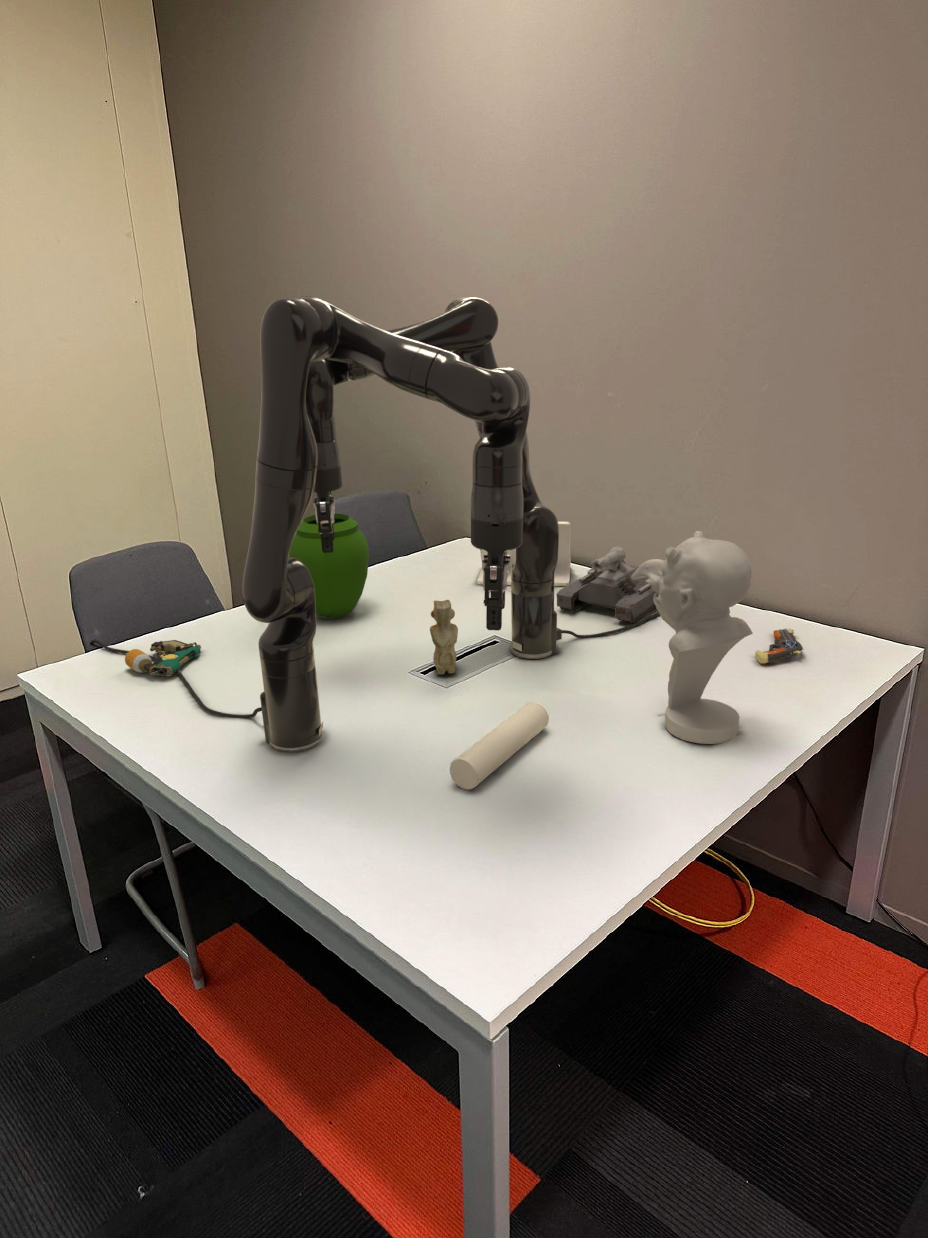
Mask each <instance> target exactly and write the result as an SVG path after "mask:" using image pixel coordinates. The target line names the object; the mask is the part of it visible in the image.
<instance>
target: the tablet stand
mask: <svg viewBox="0 0 928 1238" xmlns="http://www.w3.org/2000/svg"><path fill="white" fill-rule="evenodd" d="M558 525H559V545H558V562H557V566H556V568H555V572H554V587H556V586H557V587H566V586H567V585H569V584H570V580H571V579H570V578H571V565H572V564H571V560H572V558H571V522H569V521H558ZM479 551H480V557H481V558H480V559H481V561H482V560H484V555H488V553H487V551H485V550H483V549H482V550H480V549H479ZM507 555H510V558H511V559H510V567H509V577H507V586H511V566H512V564H513V563H514V562H515V560H516V549H514V550H507ZM476 581H477V582H476V584H478V585H482V586H483V570H482V569H481V570H480V573H479V575H478V577H477V580H476Z"/></svg>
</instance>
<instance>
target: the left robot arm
mask: <svg viewBox="0 0 928 1238" xmlns="http://www.w3.org/2000/svg"><path fill="white" fill-rule="evenodd" d="M259 349H260V352H259V353H260V378H261V379H260V381H261V386H260V387H261V391H260V392H261V393H260V412H259V413H260V414H259V433H258V443H257V444H258V445H257V452H256V465H255V478H254V479H255V480H254V483H255V484H254V499H253V500H254V501H253V507H252V508H253V510H252V519H251V529H250V538H249V543H248V549H247V550H248V551H247V554H246V559H245V565H244V570H243V574H242V575H243V576H242V580H241V581H242V582H241V597H242V601H243V604H244V606H245V609H246V611H247V613H248V615H250V617H252V618H253V620H255V621H257V622H259V623H265V624H267V626H266V628H265V630H264V631H263V632H262V634H261V635H260V636H259V639H258V653H259V661H260V667H261V669H260V671H261V677H262V684H263V685H262V686H263V692H261V693H260V695H259V699H260V706H259V707H257V708H255V709H254V710H253V712H252V713H250V714H249V713H248V714H235V713H234V714H233V713H227V712H222V711H218V710H214V709H212V708H209V707H208V706H206V705H205V704H204V702H203V701H202V699H201V698H200V697H199V695H198V694H197V693H196V692H195V691H194V688H193V687H192V686H191V684H190V683H189V682H188V680H187V679H186V677H185V676H184V675H183V673H181V671H180V670H179V669H178V670H177V671H175V672H174V673H175V674H176V675H177V676H178V677H179V678H180V680H181V681H182V682H183V684H184V685H185V687H186V688H187V690H188V691H189V692H190V694H191V695H192V697H193V698H194V699H195V700H196V702H197V703H198V705H199V706H200V708H201V709H202V710H204V711H205V712H207V713H210V714H212V715H216V716H219V717H223V718H232V719H252V718H255V717H256V716H257V714H258V713H260V712H261V716H262V723H263V731H264V732H263V733H264V739H265V743H267V744H269V745H270V747H271V748H273V749H275V750H276V751H280V752H284V753H285V752H286V753H296V752H302V751H307V750H309V749H312V748H314V747H316V746H317V745H319V744H320V743H321V742H322V741H323V739H324V733H323V732H324V731H323V728H324V721H322V719H321V709H320V696H319V686H318V677H317V669H316V658H315V657H316V656H315V647H314V640H315V637H316V633H317V614H316V601H315V589H314V583H313V579H312V577H311V574H310V572H309V570H308V569H307V567H306V566H305V565H304V564H303V563H302V562H301V561H299V560H298V559H296V558H292V557H289V551H290V547H291V544H292V541H293V538H294V536H295V534H296V533H297V530H298V528H299V526H300V524H301V522H302V521H303V520H304V519H305V516H306V514H307V512H308V510H309V508H310V505H311V502H312V501H313V497H314V493H315V492H314V489H315V481H316V472H317V463H318V450H317V444H316V440H315V437H314V433H313V430H312V427H311V425H310V422H309V418H308V415H307V411H306V386H307V377H308V371H309V366H310V363H312V362H318V361H321V360H331V361H338V362H344V363H349V364H353V365H356V366H359V367H362V368H365V369H367V370H369V371H371V372H372V373H374V374H376V375H375V376H377V377H378V378H380V379H382V380H383V381H384V382H386V383H388V384H389V385H391V386H393V387H395V388H397V389H399V390H402V391H404V392H407V393H409V394H412V395H415V396H417V397H421V398H424V399H427V400H430V401H433V402H436V403H440V404H442V405H444V406H445V407H447V408H449V410H452V411H453V412H456V413H457V414H459V415H461V416H463V417H465V418H467V419H469V420H472V421H473V422H475V421H477V422H481V423H483V425H482V434H481V437H480V436H479V439H478V440H477V442H476V443H475V444H474V446H473V450H472V483H471V484H472V485H471V492H470V545H472V546H473V547H474V548H476V549H478V550H479V551H480V550H482V549H483V550H485V551H487V553H488V555H484V560H481V570H483V585H482V589H483V591H484V594H483V595H484V597H483V598H484V599H483V604H484V605H483V606H484V607H486V610H485V611H486V612H485V613H486V615H485V616H486V617H485V620H486V622H485V623H486V625H485V628H486V629H487V630H488V631H500V630H501V629H502V627H503V610H504V609H505V608H506V591H507V589H508V585H507V577H509V567H510V559H511V558H510V555H507V550H514V549H516V548H518V547H520V546H521V545H522V542H523V489H522V448H523V444H524V440H525V435H526V432H527V429H528V423H529V418H530V412H531V411H530V410H531V390H530V386H529V383H528V380H527V379H526V377H525V376H524V375H523V373H522V372H521V371H520V370H519V369H516V368H514V367H511V366H501V367H498V368H496V369H492V370H488V369H483V368H480V367H477V366H474V365H471V364H468V363H465V362H464V361H463V359H462V358H461V357H460V356H458V355H456V354H454V353H453V351H447V350H444V349H440V348H437V347H434V346H431V345H428V344H425V343H422V342H419V341H415V340H412V339H409V338H406V337H402V336H399V335H396V334H393V333H390V332H387V330H384V329H382V328H379V327H377V326H374V325H372V324H369V323H368V322H366V321H363V320H362V319H359V318H357V317H355V316H353V315H351V314H350V313H348V312H346V311H344V310H342V309H341V308H338V306H337V307H336V306H335V305H333V304H331V303H329V302H327V301H325V300H323V299H321V298H318V297H316V296H291V297H289V296H287V297H281V298H278V299H275V300H273V301H272V302H270V304H269V305H268V306H267V308H266V309H265V311H264V313H263V316H262V319H261V323H260V333H259ZM94 643H96V644H98V645H99V646H100V647H102V648H103V649H105V650H108V651H110V652H112V653H113V652H114V653H119V654H125V655H126V654H127V653H128V652H129V651H130V650H125V649H119V648H113V647H109V646H108V645H107V644H104V642H102V641H100V640H98V639H97V638H95V639H92V640H91V641H90V642H89V645H94ZM147 655H148V656H149V657H150V658H151V660H152V661H154V659H155V658H156V657H157V656H156V657H155V656H153V655H150V654H147Z"/></svg>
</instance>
